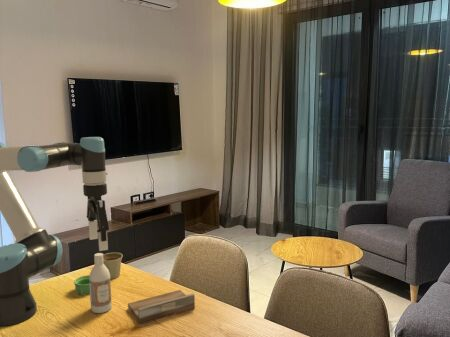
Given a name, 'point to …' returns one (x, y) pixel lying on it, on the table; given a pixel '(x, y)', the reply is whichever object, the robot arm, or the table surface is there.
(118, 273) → the flower pot
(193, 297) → the brown piece
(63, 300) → the table surface
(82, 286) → the ramekin
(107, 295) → the bath foam
